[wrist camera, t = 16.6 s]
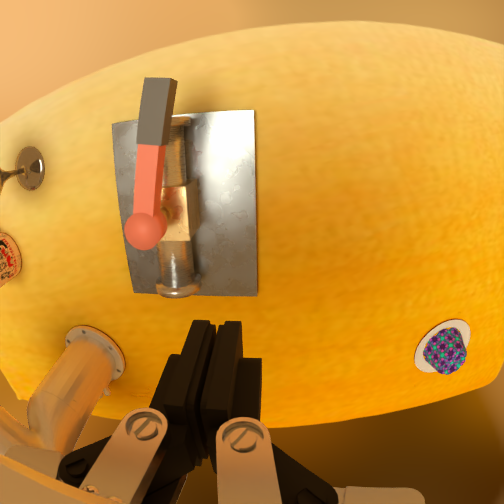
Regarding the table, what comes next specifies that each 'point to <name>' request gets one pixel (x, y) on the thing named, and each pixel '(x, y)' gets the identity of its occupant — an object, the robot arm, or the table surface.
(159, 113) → the lever
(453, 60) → the table surface
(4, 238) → the teacup with lid
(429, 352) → the pudding
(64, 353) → the robot arm
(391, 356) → the table surface
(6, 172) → the wine glass
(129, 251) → the valve
